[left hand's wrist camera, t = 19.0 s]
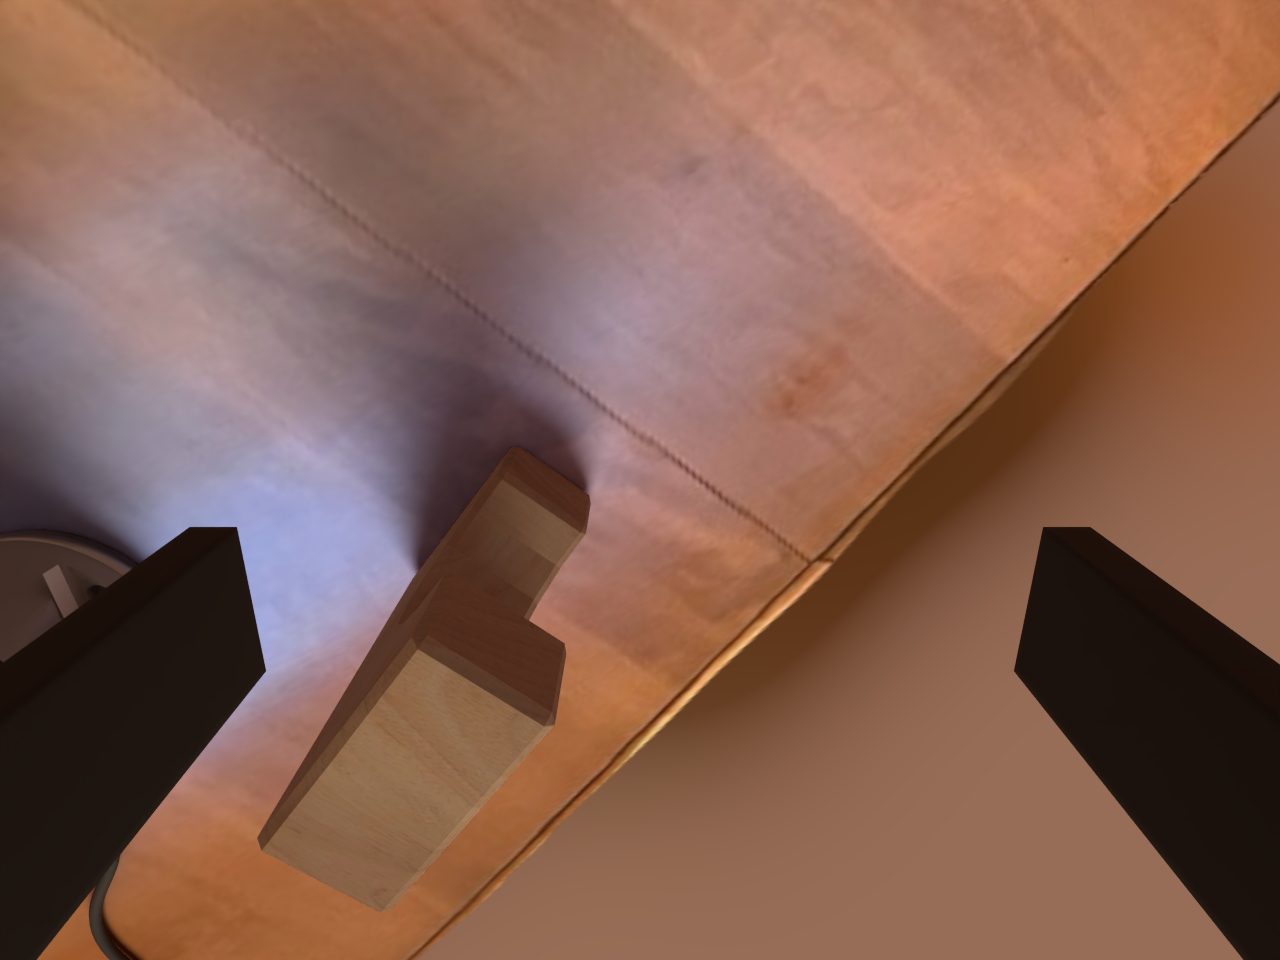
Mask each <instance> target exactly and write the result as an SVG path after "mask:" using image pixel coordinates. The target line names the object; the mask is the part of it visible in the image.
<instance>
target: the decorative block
mask: <svg viewBox="0 0 1280 960" xmlns="http://www.w3.org/2000/svg"><path fill="white" fill-rule="evenodd" d="M590 504H591V503H590V497H589V495H588V494H586V493H585V492H584V491H582V490H581V489H579V488H578V487H577V486H575V485H574V484H572V483H571V482H569V481H568V480H567V479H565V478H564V477H562V476H561V475H559V474H558V473H557V472H555V471H554V470H552V469H551V468H550V467H548V466H547V465H545V464H544V463H542V462H541V461H540V460H538V459H537V458H535V457H534V456H532V455H531V454H530V453H528V452H527V451H525V450H524V449H523V448H521V447H520V446H519V447H511V448H510V449H509V450H508V452H507V453H506V454H505V456H504V457H503V458H502V460H501V461H500V462H499V464H498V465H497V466H496V468H495V469H494V470H493V472H492V473H491V475H490V476H489V477H488V479H487V480H486V481H485V483H484V484H483V485H482V487H481V488H480V489H479V491H478V492H477V493H476V495H475V496H474V497H473V499H472V500H471V501H470V503H469V504H468V505H467V507H466V508H465V509H464V511H463V512H462V513H461V515H460V516H459V517H458V519H457V520H456V521H455V523H454V524H453V525H452V527H451V528H450V530H449V531H448V532H447V534H446V535H445V536H444V538H443V539H442V540H441V542H440V543H439V544H438V546H437V547H436V548H435V550H434V551H433V552H432V554H431V555H430V556H429V558H428V559H427V560H426V562H425V563H424V564H423V566H422V567H421V568H420V570H419V571H418V572H417V574H416V575H415V576H414V578H413V579H412V581H411V583H410V584H409V586H408V588H407V589H406V591H405V593H404V594H403V596H402V598H401V599H400V601H399V603H398V604H397V606H396V608H395V609H394V611H393V613H392V614H391V616H390V617H389V619H388V621H387V622H386V624H385V626H384V627H383V629H382V631H381V632H380V634H379V636H378V637H377V639H376V641H375V642H374V644H373V646H372V647H371V649H370V651H369V652H368V654H367V656H366V657H365V659H364V661H363V662H362V664H361V666H360V667H359V669H358V671H357V672H356V674H355V676H354V677H353V679H352V681H351V682H350V684H349V686H348V687H347V689H346V691H345V692H344V694H343V696H342V697H341V699H340V701H339V702H338V704H337V706H336V707H335V709H334V711H333V712H332V714H331V716H330V717H329V719H328V721H327V722H326V724H325V726H324V727H323V729H322V731H321V732H320V734H319V736H318V737H317V739H316V741H315V742H314V744H313V746H312V747H311V749H310V751H309V752H308V754H307V756H306V757H305V759H304V761H303V762H302V764H301V766H300V767H299V769H298V771H297V772H296V774H295V776H294V777H293V779H292V781H291V782H290V784H289V786H288V787H287V789H286V791H285V792H284V794H283V796H282V797H281V799H280V801H279V802H278V804H277V806H276V807H275V809H274V811H273V812H272V814H271V816H270V817H269V819H268V821H267V822H266V824H265V826H264V827H263V829H262V831H261V832H260V834H259V836H258V837H257V838H258V841H259V844H260V847H261V850H262V851H263V852H265V853H267V854H269V855H271V856H273V857H275V858H277V859H278V860H280V861H282V862H284V863H286V864H288V865H290V866H292V867H294V868H296V869H298V870H300V871H302V872H303V873H305V874H307V875H309V876H311V877H313V878H315V879H317V880H319V881H321V882H323V883H325V884H327V885H328V886H330V887H332V888H334V889H336V890H338V891H340V892H342V893H344V894H346V895H348V896H350V897H352V898H353V899H355V900H357V901H359V902H361V903H363V904H365V905H367V906H369V907H371V908H373V909H375V910H376V911H378V912H380V913H381V912H384V911H386V910H389V909H392V908H393V907H394V906H395V905H396V903H397V902H398V901H399V900H400V899H401V898H402V897H403V896H404V895H405V893H406V892H407V891H408V890H409V889H410V888H411V887H412V886H413V884H414V883H415V882H416V881H417V880H418V879H419V878H420V877H421V875H422V874H423V873H424V872H425V871H426V870H427V869H428V868H429V866H430V865H431V864H432V863H433V862H434V861H435V860H436V859H437V857H438V856H439V855H440V854H441V853H442V852H443V851H444V850H445V848H446V847H447V846H448V845H449V844H450V843H451V842H452V841H453V839H454V838H455V837H456V836H457V835H458V834H459V833H460V832H461V830H462V829H463V828H464V827H465V826H466V825H467V824H468V823H469V821H470V820H471V819H472V818H473V817H474V816H475V815H476V814H477V812H478V811H479V810H480V809H481V808H482V807H483V806H484V804H485V803H486V802H487V801H488V800H489V799H490V798H491V797H492V795H493V794H494V793H495V792H496V791H497V790H498V789H499V787H500V786H501V785H502V784H503V783H504V782H505V781H506V779H507V778H508V777H509V776H510V775H511V774H512V773H513V772H514V770H515V769H516V768H517V767H518V766H519V765H520V764H521V762H522V761H523V760H524V759H525V758H526V757H527V756H528V755H529V753H530V752H531V751H532V750H533V749H534V748H535V747H536V745H537V744H538V743H539V742H540V741H541V740H542V739H543V738H544V736H545V735H546V734H547V733H548V732H549V731H550V730H551V728H552V727H553V726H554V725H555V719H556V713H557V707H558V701H559V694H560V688H561V682H562V676H563V670H564V664H565V658H566V650H565V644H564V643H563V642H561V641H560V640H558V639H557V638H555V637H554V636H552V635H550V634H549V633H547V632H546V631H544V630H543V629H541V628H540V627H538V626H536V625H535V624H533V623H532V622H530V621H529V619H530V617H531V615H532V614H533V612H534V610H535V608H536V606H537V604H538V603H539V601H540V600H541V598H542V596H543V595H544V593H545V592H546V590H547V588H548V587H549V585H550V584H551V582H552V580H553V579H554V577H555V576H556V574H557V572H558V571H559V569H560V568H561V566H562V565H563V564H564V562H565V561H566V560H567V558H568V557H569V556H570V554H571V553H572V552H573V550H574V549H575V548H576V546H577V545H578V544H579V542H580V541H581V539H582V538H583V537H584V535H585V534H586V529H587V523H588V517H589V510H590Z"/></svg>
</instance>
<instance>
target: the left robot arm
mask: <svg viewBox="0 0 1280 960" xmlns="http://www.w3.org/2000/svg"><path fill="white" fill-rule="evenodd" d="M265 672H266V669H265V664H264V659H263V654H262V649H261V644H260V639H259V634H258V629H257V624H256V619H255V614H254V609H253V604H252V600H251V595H250V590H249V585H248V580H247V575H246V570H245V565H244V560H243V555H242V550H241V545H240V540H239V535H238V531H237V527H189V528H188V529H186V530H185V531H184V532H182V533H181V534H180V535H178V536H177V537H175V538H174V539H173V540H171V541H170V542H169V543H167V544H166V545H164V546H163V547H162V548H160V549H159V550H158V551H156V552H155V553H153V554H152V555H151V556H149V557H148V558H146V559H145V560H144V561H142V562H141V563H140V564H138V565H137V564H136V563H134V562H133V561H131V560H130V559H128V558H127V557H125V556H123V555H122V554H120V553H118V552H116V551H115V550H113V549H111V548H108V547H106V546H104V545H102V544H100V543H97V542H95V541H92V540H89V539H87V538H83V537H80V536H76V535H73V534H68V533H63V532H57V531H49V530H21V531H14V532H9V533H4V534H0V960H37V958H38V957H39V956H40V955H41V953H42V952H43V951H44V950H45V948H46V947H47V946H48V945H49V943H50V942H51V941H52V940H53V938H54V937H55V936H56V935H57V933H58V932H59V931H60V930H61V928H62V927H63V926H64V924H65V923H66V922H67V921H68V919H69V918H70V917H71V916H72V914H73V913H74V912H75V911H76V909H77V908H78V907H79V906H80V904H81V903H82V902H83V901H84V899H85V898H86V897H87V896H88V894H89V893H90V892H91V891H92V889H93V888H94V887H95V886H96V884H97V883H98V884H97V886H96V888H95V890H94V893H93V896H92V899H91V902H90V907H89V922H90V928H91V932H92V935H93V937H94V939H95V941H96V943H97V945H98V946H99V948H100V949H101V951H102V952H103V953H104V954H105V955H106V957H107V958H108V959H109V960H130V959H129V958H128V957H127V956H126V955H125V954H123V953H122V951H121V950H120V949H119V948H118V947H117V946H116V945H115V944H114V943H113V941H112V940H111V938H110V937H109V935H108V934H107V931H106V929H105V927H104V924H103V920H102V906H103V901H104V898H105V895H106V893H107V890H108V888H109V886H110V883H111V881H112V879H113V877H114V875H115V872H116V869H117V866H118V862H119V857H120V854H121V853H122V852H123V850H124V849H125V848H126V847H127V845H128V844H129V843H130V841H131V840H132V839H133V838H134V836H135V835H136V834H137V833H138V831H139V830H140V829H141V828H142V826H143V825H144V824H145V823H146V821H147V820H148V819H149V818H150V816H151V815H152V814H153V813H154V811H155V810H156V809H157V808H158V806H159V805H160V804H161V802H162V801H163V800H164V799H165V797H166V796H167V795H168V794H169V792H170V791H171V790H172V789H173V787H174V786H175V785H176V784H177V782H178V781H179V780H180V779H181V777H182V776H183V775H184V774H185V772H186V771H187V770H188V769H189V767H190V766H191V765H192V763H193V762H194V761H195V760H196V758H197V757H198V756H199V755H200V753H201V752H202V751H203V750H204V748H205V747H206V746H207V745H208V743H209V742H210V741H211V740H212V738H213V737H214V736H215V735H216V733H217V732H218V731H219V730H220V728H221V727H222V726H223V725H224V723H225V722H226V721H227V719H228V718H229V717H230V716H231V714H232V713H233V712H234V711H235V709H236V708H237V707H238V706H239V704H240V703H241V702H242V701H243V699H244V698H245V697H246V696H247V694H248V693H249V692H250V691H251V689H252V688H253V687H254V686H255V684H256V683H257V682H258V680H259V679H260V678H261V677H262V675H263V674H264V673H265ZM1014 672H1015V673H1016V674H1017V675H1018V677H1019V678H1020V679H1021V680H1022V682H1023V683H1024V684H1025V685H1026V687H1027V688H1028V689H1029V691H1030V692H1031V693H1032V694H1033V696H1034V697H1035V698H1036V699H1037V701H1038V702H1039V703H1040V704H1041V706H1042V707H1043V708H1044V709H1045V711H1046V712H1047V713H1048V714H1049V716H1050V717H1051V718H1052V719H1053V721H1054V722H1055V723H1056V725H1057V726H1058V727H1059V728H1060V730H1061V731H1062V732H1063V733H1064V735H1065V736H1066V737H1067V738H1068V740H1069V741H1070V742H1071V743H1072V745H1073V746H1074V747H1075V748H1076V750H1077V751H1078V752H1079V753H1080V755H1081V756H1082V757H1083V758H1084V760H1085V761H1086V762H1087V763H1088V765H1089V766H1090V767H1091V769H1092V770H1093V771H1094V772H1095V774H1096V775H1097V776H1098V777H1099V779H1100V780H1101V781H1102V782H1103V784H1104V785H1105V786H1106V787H1107V789H1108V790H1109V791H1110V792H1111V794H1112V795H1113V796H1114V797H1115V799H1116V800H1117V801H1118V802H1119V804H1120V805H1121V806H1122V807H1123V809H1124V810H1125V811H1126V813H1127V814H1128V815H1129V816H1130V818H1131V819H1132V820H1133V821H1134V823H1135V824H1136V825H1137V826H1138V828H1139V829H1140V830H1141V831H1142V833H1143V834H1144V835H1145V836H1146V838H1147V839H1148V840H1149V841H1150V843H1151V844H1152V845H1153V846H1154V848H1155V849H1156V850H1157V852H1158V853H1159V854H1160V855H1161V857H1162V858H1163V859H1164V860H1165V862H1166V863H1167V864H1168V865H1169V867H1170V868H1171V869H1172V870H1173V872H1174V873H1175V874H1176V875H1177V877H1178V878H1179V879H1180V880H1181V882H1182V883H1183V884H1184V886H1185V887H1186V888H1187V889H1188V891H1189V892H1190V893H1191V894H1192V896H1193V897H1194V898H1195V899H1196V901H1197V902H1198V903H1199V904H1200V906H1201V907H1202V908H1203V909H1204V911H1205V912H1206V913H1207V914H1208V916H1209V917H1210V918H1211V919H1212V921H1213V922H1214V923H1215V924H1216V926H1217V927H1218V928H1219V930H1220V931H1221V932H1222V933H1223V935H1224V936H1225V937H1226V938H1227V940H1228V941H1229V942H1230V943H1231V945H1232V946H1233V947H1234V948H1235V950H1236V951H1237V952H1238V953H1239V955H1240V956H1241V957H1242V958H1243V960H1280V664H1278V663H1277V662H1276V661H1274V660H1273V659H1271V658H1270V657H1269V656H1267V655H1266V654H1265V653H1263V652H1262V651H1260V650H1259V649H1258V648H1256V647H1255V646H1253V645H1252V644H1251V643H1249V642H1248V641H1247V640H1245V639H1244V638H1242V637H1241V636H1240V635H1238V634H1237V633H1236V632H1234V631H1233V630H1231V629H1230V628H1229V627H1227V626H1226V625H1225V624H1223V623H1222V622H1220V621H1219V620H1218V619H1216V618H1215V617H1213V616H1212V615H1211V614H1209V613H1208V612H1207V611H1205V610H1204V609H1202V608H1201V607H1200V606H1198V605H1197V604H1196V603H1194V602H1193V601H1191V600H1190V599H1189V598H1187V597H1186V596H1185V595H1183V594H1182V593H1180V592H1179V591H1178V590H1176V589H1175V588H1174V587H1172V586H1171V585H1169V584H1168V583H1167V582H1165V581H1164V580H1162V579H1161V578H1160V577H1158V576H1157V575H1156V574H1154V573H1153V572H1151V571H1150V570H1149V569H1147V568H1146V567H1144V566H1143V565H1142V564H1140V563H1139V562H1138V561H1136V560H1135V559H1133V558H1132V557H1131V556H1129V555H1128V554H1127V553H1125V552H1124V551H1122V550H1121V549H1120V548H1118V547H1117V546H1116V545H1114V544H1113V543H1111V542H1110V541H1109V540H1107V539H1106V538H1104V537H1103V536H1102V535H1100V534H1099V533H1098V532H1096V531H1095V530H1094V529H1092V528H1091V527H1043V531H1042V535H1041V541H1040V545H1039V550H1038V555H1037V560H1036V565H1035V570H1034V575H1033V580H1032V585H1031V590H1030V595H1029V600H1028V604H1027V609H1026V614H1025V619H1024V624H1023V629H1022V634H1021V639H1020V644H1019V649H1018V654H1017V659H1016V664H1015V669H1014Z"/></svg>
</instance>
